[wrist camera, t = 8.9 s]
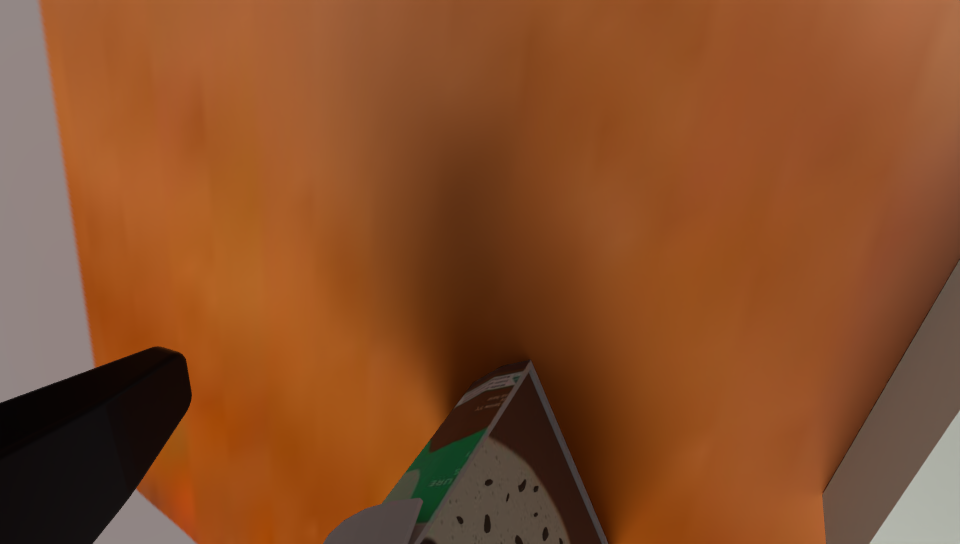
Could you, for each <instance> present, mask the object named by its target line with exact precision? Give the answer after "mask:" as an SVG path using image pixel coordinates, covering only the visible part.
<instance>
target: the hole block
mask: <svg viewBox="0 0 960 544" xmlns="http://www.w3.org/2000/svg"><path fill="white" fill-rule="evenodd" d="M822 498H823V510H824V523H825V535H826V544H960V260H959V262H958V263H957V265H956V267H955V268H954V270H953V272H952V274H951V275H950V277H949V279H948V280H947V282H946V284H945V286H944V287H943V289H942V291H941V292H940V294H939V296H938V298H937V299H936V301H935V303H934V304H933V306H932V308H931V310H930V311H929V313H928V315H927V316H926V318H925V320H924V322H923V323H922V325H921V327H920V328H919V330H918V332H917V334H916V335H915V337H914V339H913V340H912V342H911V344H910V346H909V347H908V349H907V351H906V352H905V354H904V356H903V358H902V359H901V361H900V363H899V364H898V366H897V368H896V370H895V371H894V373H893V375H892V376H891V378H890V380H889V382H888V383H887V385H886V387H885V388H884V390H883V392H882V394H881V395H880V397H879V399H878V400H877V402H876V404H875V406H874V407H873V409H872V411H871V412H870V414H869V416H868V417H867V419H866V421H865V423H864V424H863V426H862V428H861V429H860V431H859V433H858V435H857V436H856V438H855V440H854V441H853V443H852V445H851V447H850V448H849V450H848V452H847V453H846V455H845V457H844V459H843V460H842V462H841V464H840V465H839V467H838V469H837V471H836V472H835V474H834V476H833V477H832V479H831V481H830V483H829V484H828V486H827V488H826V489H825V491H824V493H823V495H822Z"/></svg>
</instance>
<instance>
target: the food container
mask: <svg viewBox="0 0 960 544" xmlns="http://www.w3.org/2000/svg"><path fill="white" fill-rule="evenodd" d="M323 544H608V542H607V539H606V537H605V535H604V532H603V530H602V527H601V525H600V523H599V520H598V518H597V516H596V513H595V511H594V508H593V506H592V504H591V501H590V499H589V497H588V494H587V492H586V489H585V487H584V485H583V482H582V480H581V478H580V475H579V473H578V471H577V468H576V466H575V463H574V461H573V459H572V456H571V454H570V452H569V449H568V447H567V444H566V442H565V440H564V437H563V435H562V433H561V430H560V428H559V425H558V423H557V421H556V418H555V416H554V414H553V411H552V409H551V406H550V404H549V402H548V399H547V397H546V395H545V392H544V390H543V387H542V385H541V383H540V380H539V378H538V376H537V373H536V371H535V369H534V366H533V364H532V361H531V360H527V361H523V362H518V363H514V364H509V365H505V366H502V367H500V368H498V369H496V370H495V371H493V372H491V373H489V374H488V375H486V376H484V377H483V378H481V379H479V380H477V381H476V382H474V383H473V384H472V385H471V386H470V388H469V389H468V390H467V392H466V393H465V394H464V396H463V397H462V398H461V400H460V401H459V402H458V404H457V405H456V406H455V408H454V409H453V410H452V411H451V413H450V414H449V415H448V417H447V418H446V419H445V421H444V422H443V423H442V425H441V426H440V427H439V429H438V430H437V431H436V433H435V434H434V435H433V437H432V438H431V439H430V441H429V442H428V443H427V445H426V446H425V447H424V449H423V450H422V451H421V452H420V454H419V455H418V456H417V458H416V459H415V460H414V462H413V463H412V464H411V466H410V467H409V468H408V470H407V471H406V472H405V474H404V475H403V476H402V478H401V479H400V480H399V482H398V483H397V484H396V486H395V487H394V488H393V489H392V491H391V492H390V493H389V495H388V496H387V497H386V499H385V500H384V501H383V503H382V504H380V505H377V506H373V507H370V508H367V509H364V510H362V511H360V512H359V513H357V514H355V515H353V516H351V517H349V518H348V519H346V520H344V521H343V522H342V523H341V524H340V525H339V526H338V527H336V528H335V529H334V530H333V531H332V532H331V533H330V534H329V535H328V537H327V538H326V540H325V542H324V543H323Z"/></svg>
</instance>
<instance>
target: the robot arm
mask: <svg viewBox="0 0 960 544" xmlns="http://www.w3.org/2000/svg"><path fill="white" fill-rule="evenodd" d="M191 397H192V392H191V386H190V380H189V374H188V368H187V363H186V359H185V357H184V356H183V354H181V353H179V352H176V351H173V350H170V349H167V348H164V347H152V348H149V349H146V350H143V351H141V352H138V353H135V354H132V355H130V356H127V357H124V358H121V359H119V360H116V361H113V362H111V363H108V364H105V365H102V366H100V367H97V368H94V369H91V370H89V371H86V372H84V373H81V374H78V375H75V376H72V377H70V378H67V379H64V380H62V381H59V382H56V383H53V384H51V385H48V386H45V387H42V388H40V389H37V390H34V391H31V392H29V393H26V394H23V395H20V396H18V397H15V398H13V399H10V400H7V401H4V402H1V403H0V544H93V542H94V541H95V540H96V539H97V537H98V536H99V535H100V534H101V533H102V531H103V530H104V529H105V527H106V526H107V525H108V524H109V523H110V521H111V520H112V519H113V518H114V516H115V515H116V514H117V513H118V512H119V510H120V509H121V508H122V506H123V505H124V504H125V502H126V501H127V500H128V499H129V497H130V496H131V494H132V493H133V492H134V490H135V489H136V487H137V486H138V485H139V483H140V482H141V480H142V479H143V477H144V476H145V474H146V473H147V471H148V469H149V468H150V466H151V465H152V463H153V462H154V460H155V459H156V457H157V456H158V454H159V453H160V451H161V450H162V448H163V447H164V445H165V444H166V442H167V441H168V439H169V438H170V436H171V435H172V433H173V432H174V430H175V429H176V427H177V425H178V424H179V422H180V421H181V419H182V418H183V416H184V415H185V413H186V412H187V410H188V408H189V406H190V402H191Z"/></svg>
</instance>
